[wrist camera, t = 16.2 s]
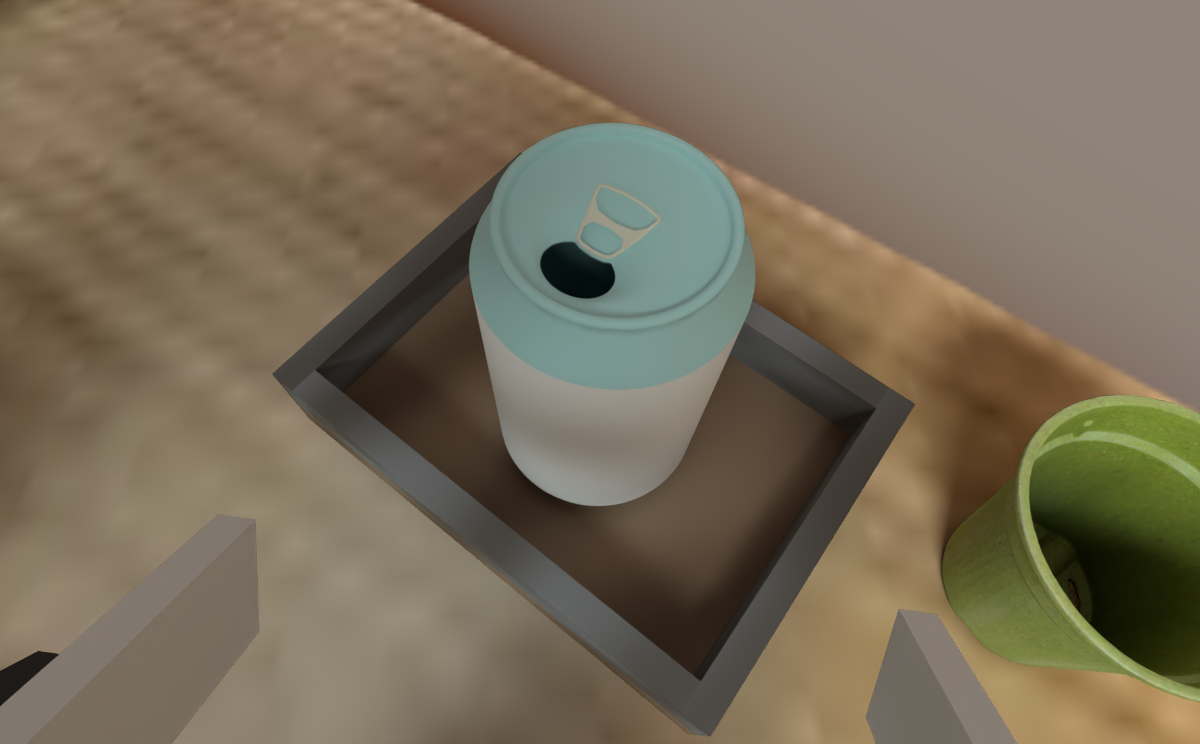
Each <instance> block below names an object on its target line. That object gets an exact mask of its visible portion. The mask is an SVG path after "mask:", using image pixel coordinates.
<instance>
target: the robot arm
mask: <svg viewBox="0 0 1200 744" xmlns="http://www.w3.org/2000/svg"><path fill="white" fill-rule="evenodd" d="M258 633H259V606H258V579H257V551H256V524H255V519H248V518H241V517H234V516H226V515H219V514H218V515H217V516H216V517H215V518H214V519H213V520H211V521H210V522H209V523H208V524H207V525H206V526H205V527H203V528H202V529H201V530H200V531H199V532H198V533H197V534H195V535H194V536H193V537H192V538H191V539H190V540H189V541H188V542H186V543H185V544H184V545H183V546H182V547H181V548H180V549H178V550H177V551H176V552H175V553H174V554H173V555H172V556H170V557H169V558H168V559H167V560H166V561H165V562H164V563H163V564H161V565H160V566H159V567H158V568H157V569H156V570H155V571H153V572H152V573H151V574H150V575H149V576H148V577H147V578H145V579H144V580H143V581H142V582H141V583H140V584H139V585H138V586H136V587H135V588H134V589H133V590H132V591H131V592H130V593H128V594H127V595H126V596H125V597H124V598H123V599H122V600H120V601H119V602H118V603H117V604H116V605H115V606H114V607H113V608H111V609H110V610H109V611H108V612H107V613H106V614H105V615H103V616H102V617H101V618H100V619H99V620H98V621H97V622H95V623H94V624H93V625H92V626H91V627H90V628H89V629H88V630H86V631H85V632H84V633H83V634H82V635H81V636H80V637H78V638H77V639H76V640H75V641H74V642H73V643H72V644H70V645H69V646H68V647H67V648H66V649H65V650H64V651H63V652H61V653H60V654H56V653H49V652H42V651H38V652H36V653H34V654H32V655H30V656H28V657H26V658H24V659H22V660H20V661H18V662H17V663H15V664H13V665H11V666H9V667H7V668H5V669H3V670H1V671H0V744H172V743H173V741H174V740H175V739H176V738H177V736H178V735H179V734H180V732H181V731H182V730H183V729H184V727H185V726H186V725H187V723H188V722H189V721H190V720H191V718H192V717H193V716H194V714H195V713H196V712H197V711H198V709H199V708H200V707H201V706H202V704H203V703H204V702H205V700H206V699H207V698H208V697H209V695H210V694H211V693H212V691H213V690H214V689H215V688H216V686H217V685H218V684H219V682H220V681H221V680H222V679H223V677H224V676H225V675H226V674H227V672H228V671H229V670H230V668H231V667H232V666H233V665H234V663H235V662H236V661H237V659H238V658H239V657H240V656H241V654H242V653H243V652H244V651H245V649H246V648H247V647H248V645H249V644H250V643H251V642H252V640H253V639H254V638H255V636H256V635H257V634H258ZM866 719H867V722H868V724H869V727H870V729H871V732H872V734H873V737H874V740H875V742H876V744H1017V742H1016V740H1015V739H1014V737H1013V735H1012V734H1011V732H1010V731H1009V729H1008V727H1007V726H1006V724H1005V723H1004V721H1003V719H1002V718H1001V716H1000V715H999V713H998V711H997V710H996V708H995V707H994V705H993V703H992V702H991V700H990V699H989V697H988V695H987V694H986V692H985V691H984V689H983V687H982V686H981V684H980V683H979V681H978V679H977V678H976V676H975V675H974V673H973V671H972V670H971V668H970V666H969V665H968V663H967V662H966V660H965V658H964V657H963V655H962V654H961V652H960V650H959V649H958V647H957V646H956V644H955V642H954V641H953V639H952V638H951V636H950V634H949V633H948V631H947V630H946V628H945V626H944V625H943V623H942V622H941V620H940V618H939V617H938V615H937V614H932V613H925V612H918V611H910V610H903V609H899V610H898V613H897V616H896V620H895V623H894V626H893V629H892V633H891V636H890V639H889V643H888V646H887V649H886V652H885V656H884V659H883V662H882V666H881V669H880V672H879V675H878V679H877V682H876V685H875V688H874V692H873V695H872V698H871V702H870V705H869V708H868V711H867V715H866Z"/></svg>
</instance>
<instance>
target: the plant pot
mask: <svg viewBox="0 0 1200 744" xmlns="http://www.w3.org/2000/svg"><path fill="white" fill-rule="evenodd" d="M942 572H943V581H944V586H945V590H946V593H947V597H948V600H949V602H950V604H951V606H952V608H953V610H954V612H955V613H956V615H957V616H958V617H959V618H960V619H961V620H962V621H963V622H964V623H965V624H966V625H967V627H968V628H969V629H970V630H971V631H972V632H973V633H974V635H975V636H976V637H977V638H978V639H979V640H980V642H981V643H982V644H983V645H984V646H985V647H986V648H988V649H989V650H990V651H992V652H994V653H995V654H997V655H999V656H1001V657H1003V658H1005V659H1008V660H1010V661H1013V662H1016V663H1019V664H1023V665H1029V666H1039V667H1050V668H1062V669H1074V670H1085V671H1096V672H1108V673H1118V674H1126V675H1128V676H1131V677H1134V678H1137V679H1138V680H1140V681H1142V682H1144V683H1146V684H1148V685H1150V686H1152V687H1155V688H1157V689H1159V690H1162V691H1164V692H1167V693H1169V694H1172V695H1175V696H1178V697H1181V698H1184V699H1188V700H1192V701H1196V702H1200V414H1199V413H1197V412H1194V411H1192V410H1190V409H1187V408H1185V407H1182V406H1179V405H1176V404H1174V403H1170V402H1166V401H1163V400H1157V399H1153V398H1148V397H1141V396H1132V395H1108V396H1101V397H1096V398H1091V399H1087V400H1083V401H1080V402H1077V403H1075V404H1072V405H1070V406H1068V407H1066V408H1064V409H1062V410H1061V411H1059V412H1057V413H1056V414H1054V415H1053V416H1052V417H1050V418H1049V419H1048V420H1046V421H1045V422H1044V423H1043V424H1042V425H1041V426H1040V427H1039V428H1038V429H1037V430H1036V431H1035V433H1034V434H1033V435H1032V436H1031V438H1030V439H1029V441H1028V443H1027V444H1026V446H1025V448H1024V450H1023V452H1022V454H1021V457H1020V459H1019V462H1018V465H1017V469H1016V473H1015V475H1014V477H1013V478H1012V479H1011V480H1010V481H1009V482H1007V483H1006V484H1005V485H1004V486H1003V487H1002V488H1001V489H1000V490H999V491H998V492H997V493H996V494H994V495H993V496H992V497H991V498H990V499H989V500H988V501H987V502H985V503H984V504H983V505H982V506H981V507H980V508H979V509H977V510H976V511H975V512H974V513H973V514H972V515H971V516H970V517H968V518H967V519H966V520H965V521H964V522H963V523H962V524H961V525H960V526H959V527H958V528H957V529H956V531H955V532H954V533H953V534H952V536H951V537H950V539H949V541H948V543H947V545H946V548H945V552H944V556H943V570H942ZM1070 578H1071V580H1072V581H1074V582H1075V583H1076V586H1077V590H1078V596H1079V599H1080V610H1079V612H1078V610H1077V609H1076V608H1075V607H1074V605H1073V604H1072V603H1071V595H1070V589H1069V584H1068V579H1070Z"/></svg>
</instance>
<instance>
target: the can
mask: <svg viewBox="0 0 1200 744" xmlns="http://www.w3.org/2000/svg"><path fill="white" fill-rule="evenodd" d="M469 274H470V282H471V288H472V293H473V298H474V302H475V307H476V312H477V316H478V321H479V326H480V331H481V335H482V340H483V345H484V350H485V354H486V359H487V364H488V368H489V373H490V378H491V383H492V387H493V392H494V397H495V401H496V406H497V411H498V416H499V420H500V425H501V430H502V435H503V438H504V441H505V445H506V447H507V449H508V452H509V454H510V455H511V457H512V459H513V461H514V462H515V464H516V465H517V467H518V468H519V469H520V470H521V472H522V473H523V474H524V475H525V476H526V477H527V478H528V479H529V480H530V481H531V482H533V483H534V484H535V485H536V486H538V487H539V488H540V489H542V490H544V491H545V492H547V493H549V494H551V495H553V496H555V497H557V498H559V499H562V500H565V501H568V502H572V503H575V504H581V505H588V506H608V505H616V504H620V503H625V502H628V501H631V500H634V499H636V498H639V497H641V496H643V495H645V494H647V493H649V492H650V491H652V490H653V489H655V488H656V487H658V486H659V485H660V484H661V483H663V482H664V481H665V480H666V479H667V478H668V477H669V476H670V475H671V474H672V473H673V471H674V470H675V469H676V467H677V466H678V465H679V463H680V461H681V460H682V458H683V456H684V454H685V452H686V449H687V447H688V445H689V443H690V441H691V438H692V436H693V434H694V432H695V430H696V427H697V425H698V423H699V421H700V418H701V416H702V414H703V412H704V410H705V407H706V405H707V403H708V401H709V399H710V396H711V394H712V392H713V390H714V387H715V385H716V383H717V381H718V379H719V376H720V374H721V372H722V370H723V367H724V365H725V363H726V361H727V359H728V356H729V354H730V352H731V350H732V348H733V345H734V343H735V341H736V339H737V336H738V334H739V332H740V330H741V328H742V325H743V323H744V321H745V319H746V316H747V314H748V312H749V309H750V306H751V303H752V299H753V294H754V289H755V261H754V254H753V249H752V245H751V242H750V238H749V236H748V233H747V231H746V228H745V221H744V214H743V210H742V206H741V203H740V200H739V198H738V195H737V193H736V191H735V189H734V187H733V186H732V184H731V182H730V181H729V179H728V178H727V176H726V175H725V174H724V173H723V171H722V170H721V169H720V168H719V167H718V166H717V165H716V164H715V163H714V162H713V161H712V160H711V159H710V158H709V157H708V156H706V155H705V154H704V153H703V152H701V151H700V150H698V149H697V148H696V147H694V146H692V145H691V144H689V143H687V142H686V141H684V140H682V139H680V138H678V137H676V136H673V135H671V134H668V133H666V132H663V131H660V130H657V129H653V128H650V127H645V126H641V125H634V124H626V123H596V124H588V125H582V126H578V127H573V128H570V129H566V130H563V131H560V132H558V133H555V134H552V135H550V136H548V137H546V138H544V139H542V140H540V141H539V142H537V143H535V144H534V145H532V146H531V147H529V148H528V149H527V150H525V151H524V152H523V153H522V154H521V155H520V156H518V157H517V158H516V159H515V160H514V161H513V163H512V164H511V165H510V166H509V167H508V168H507V170H506V171H505V173H504V174H503V176H502V177H501V179H500V181H499V182H498V184H497V187H496V189H495V191H494V194H493V198H492V201H491V202H490V203H489V205H488V206H487V208H486V209H485V211H484V213H483V215H482V216H481V218H480V221H479V223H478V225H477V227H476V231H475V234H474V237H473V241H472V244H471V250H470V258H469Z"/></svg>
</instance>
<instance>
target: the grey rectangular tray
mask: <svg viewBox="0 0 1200 744" xmlns="http://www.w3.org/2000/svg"><path fill="white" fill-rule="evenodd" d="M521 154H522V153H520V154H519V155H517V156H516V157H515V158H514V159H513V160H512V161H511V162H510V163H508V164H507V165H506V166H505V167H504V168H503V169H502V170H501V171H499V172H498V173H497V174H496V175H495V176H494V177H493V178H492V179H490V180H489V181H488V182H487V183H486V184H485V185H484V186H483V187H482V188H480V189H479V190H478V191H477V192H476V193H475V194H474V195H473V196H471V197H470V198H469V199H468V200H467V201H466V202H465V203H464V204H462V205H461V206H460V207H459V208H458V209H457V210H456V211H455V212H453V213H452V214H451V215H450V216H449V217H448V218H447V219H446V220H444V221H443V222H442V223H441V224H440V225H439V226H438V227H437V228H435V229H434V230H433V231H432V232H431V233H430V234H429V235H428V236H426V237H425V238H424V239H423V240H422V241H421V242H420V243H419V244H417V245H416V246H415V247H414V248H413V249H412V250H411V251H410V252H409V253H407V254H406V255H405V256H404V257H403V258H402V259H401V260H400V261H398V262H397V263H396V264H395V265H394V266H393V267H392V268H391V269H389V270H388V271H387V272H386V273H385V274H384V275H383V276H382V277H380V278H379V279H378V280H377V281H376V282H375V283H374V284H373V285H371V286H370V287H369V288H368V289H367V290H366V291H365V292H364V293H362V294H361V295H360V296H359V297H358V298H357V299H356V300H355V301H353V302H352V303H351V304H350V305H349V306H348V307H347V308H346V309H345V310H343V311H342V312H341V313H340V314H339V315H338V316H337V317H336V318H334V319H333V320H332V321H331V322H330V323H329V324H328V325H327V326H325V327H324V328H323V329H322V330H321V331H320V332H319V333H318V334H316V335H315V336H314V337H313V338H312V339H311V340H310V341H309V342H307V343H306V344H305V345H304V346H303V347H302V348H301V349H300V350H298V351H297V352H296V353H295V354H294V355H293V356H292V357H291V358H289V359H288V360H287V361H286V362H285V363H284V364H283V365H282V366H280V367H279V368H278V369H277V370H276V371H275V372H274V373H273V376H274V377H275V378H276V379H277V380H278V382H279V383H280V384H281V385H282V386H283V388H284V389H285V390H286V391H287V392H288V394H289V395H290V396H291V397H292V398H293V400H294V401H295V402H296V403H297V404H298V406H299V407H300V408H301V409H302V410H303V412H304V413H305V414H306V415H307V416H308V418H309V419H310V420H311V421H313V422H314V423H315V424H316V425H317V426H319V427H320V428H321V429H322V430H324V431H325V432H326V433H327V434H328V435H330V436H331V437H332V438H333V439H334V440H336V441H337V442H338V443H339V444H340V445H342V446H343V447H344V448H345V449H346V450H348V451H349V452H350V453H351V454H352V455H354V456H355V457H356V458H357V459H358V460H360V461H361V462H362V463H363V464H364V465H366V466H367V467H368V468H369V469H370V470H372V471H373V472H374V473H375V474H376V475H378V476H379V477H380V478H381V479H382V480H384V481H385V482H386V483H387V484H388V485H390V486H391V487H392V488H393V489H394V490H396V491H397V492H398V493H399V494H400V495H402V496H403V497H404V498H405V499H406V500H408V501H409V502H410V503H411V504H412V505H414V506H415V507H416V508H417V509H418V510H420V511H421V512H422V513H423V514H424V515H426V516H427V517H428V518H429V519H430V520H432V521H433V522H434V523H435V524H436V525H438V526H439V527H440V528H441V529H442V530H444V531H445V532H446V533H447V534H448V535H450V536H451V537H452V538H453V539H454V540H456V541H457V542H458V543H459V544H460V545H462V546H463V547H464V548H465V549H466V550H468V551H469V552H470V553H471V554H472V555H474V556H475V557H476V558H477V559H478V560H480V561H481V562H482V563H483V564H484V565H486V566H487V567H488V568H489V569H490V570H492V571H493V572H494V573H495V574H496V575H498V576H499V577H500V578H501V579H502V580H504V581H505V582H506V583H507V584H508V585H510V586H511V587H512V588H513V589H514V590H516V591H517V592H518V593H519V594H520V595H522V596H523V597H524V598H525V599H526V600H528V601H529V602H530V603H531V604H532V605H534V606H535V607H536V608H537V609H538V610H540V611H541V612H542V613H543V614H544V615H546V616H547V617H548V618H549V619H550V620H552V621H553V622H554V623H555V624H556V625H558V626H559V627H560V628H561V629H562V630H564V631H565V632H566V633H567V634H568V635H570V636H571V637H572V638H573V639H574V640H576V641H577V642H578V643H579V644H580V645H582V646H583V647H584V648H585V649H586V650H588V651H589V652H590V653H591V654H592V655H594V656H595V657H596V658H597V659H598V660H600V661H601V662H602V663H603V664H604V665H606V666H607V667H608V668H609V669H610V670H612V671H613V672H614V673H615V674H616V675H618V676H619V677H620V678H621V679H622V680H624V681H625V682H626V683H627V684H628V685H630V686H631V687H632V688H633V689H634V690H636V691H637V692H638V693H639V694H640V695H642V696H643V697H644V698H645V699H646V700H648V701H649V702H650V703H651V704H652V705H654V706H655V707H656V708H657V709H658V710H660V711H661V712H662V713H663V714H664V715H666V716H667V717H668V718H669V719H670V720H672V721H673V722H674V723H675V724H676V725H678V726H679V727H680V728H681V729H682V730H684V731H685V732H686V733H687V734H692V735H703V736H711V735H712V733H713V731H714V730H715V728H716V727H717V725H718V723H719V722H720V720H721V718H722V717H723V715H724V714H725V712H726V710H727V709H728V707H729V705H730V704H731V702H732V701H733V699H734V697H735V696H736V694H737V692H738V691H739V689H740V688H741V686H742V684H743V683H744V681H745V679H746V678H747V676H748V675H749V673H750V671H751V670H752V668H753V666H754V665H755V663H756V662H757V660H758V658H759V657H760V655H761V653H762V652H763V650H764V649H765V647H766V645H767V644H768V642H769V640H770V639H771V637H772V636H773V634H774V632H775V631H776V629H777V627H778V626H779V624H780V623H781V621H782V619H783V618H784V616H785V614H786V613H787V611H788V610H789V608H790V606H791V605H792V603H793V602H794V600H795V598H796V597H797V595H798V593H799V592H800V590H801V589H802V587H803V585H804V584H805V582H806V580H807V579H808V577H809V576H810V574H811V572H812V571H813V569H814V567H815V566H816V564H817V563H818V561H819V559H820V558H821V556H822V554H823V553H824V551H825V550H826V548H827V546H828V545H829V543H830V541H831V540H832V538H833V537H834V535H835V533H836V532H837V530H838V528H839V527H840V525H841V524H842V522H843V520H844V519H845V517H846V515H847V514H848V512H849V511H850V509H851V507H852V506H853V504H854V502H855V501H856V499H857V498H858V496H859V494H860V493H861V491H862V489H863V488H864V486H865V485H866V483H867V481H868V480H869V478H870V476H871V475H872V473H873V472H874V470H875V468H876V467H877V465H878V463H879V462H880V460H881V459H882V457H883V455H884V454H885V452H886V450H887V449H888V447H889V446H890V444H891V442H892V441H893V439H894V438H895V436H896V434H897V433H898V431H899V429H900V428H901V426H902V425H903V423H904V421H905V420H906V418H907V416H908V415H909V413H910V412H911V410H912V408H913V407H914V405H915V404H914V403H913V402H911V401H910V400H908V399H906V398H905V397H903V396H902V395H900V394H899V393H897V392H895V391H894V390H892V389H891V388H889V387H888V386H886V385H884V384H883V383H881V382H880V381H878V380H877V379H875V378H873V377H872V376H870V375H869V374H867V373H866V372H864V371H862V370H861V369H859V368H858V367H856V366H855V365H853V364H852V363H850V362H848V361H847V360H845V359H844V358H842V357H841V356H839V355H837V354H836V353H834V352H833V351H831V350H830V349H828V348H826V347H825V346H823V345H822V344H820V343H819V342H817V341H815V340H814V339H812V338H811V337H809V336H808V335H806V334H804V333H803V332H801V331H800V330H798V329H797V328H795V327H794V326H792V325H790V324H789V323H787V322H786V321H784V320H783V319H781V318H779V317H778V316H776V315H775V314H773V313H772V312H770V311H768V310H767V309H765V308H764V307H762V306H761V305H759V304H757V303H756V302H754V301H753V300H752V303H751V306H750V309H749V312H748V314H747V316H746V319H745V321H744V323H743V325H742V328H741V330H740V332H739V334H738V336H737V339H736V341H735V343H734V345H733V348H732V350H731V352H730V354H729V356H728V359H727V361H726V363H725V365H724V367H723V370H722V372H721V374H720V376H719V379H718V381H717V383H716V385H715V387H714V390H713V392H712V394H711V396H710V399H709V401H708V403H707V405H706V407H705V410H704V412H703V414H702V416H701V418H700V421H699V423H698V425H697V427H696V430H695V432H694V434H693V436H692V438H691V441H690V443H689V445H688V447H687V449H686V452H685V454H684V456H683V458H682V460H681V461H680V463H679V465H678V466H677V467H676V469H675V470H674V471H673V473H672V474H671V475H670V476H669V477H668V478H667V479H666V480H665V481H664V482H663V483H661V484H660V485H659V486H658V487H656V488H655V489H653V490H652V491H650V492H649V493H647V494H645V495H643V496H641V497H639V498H636V499H634V500H631V501H628V502H625V503H620V504H616V505H608V506H588V505H581V504H575V503H572V502H568V501H565V500H562V499H559V498H557V497H555V496H553V495H551V494H549V493H547V492H545V491H544V490H542V489H540V488H539V487H538V486H536V485H535V484H534V483H533V482H531V481H530V480H529V479H528V478H527V477H526V476H525V475H524V474H523V473H522V472H521V470H520V469H519V468H518V467H517V465H516V464H515V462H514V461H513V459H512V457H511V455H510V454H509V452H508V449H507V447H506V445H505V441H504V438H503V435H502V430H501V425H500V420H499V416H498V411H497V406H496V401H495V397H494V392H493V387H492V383H491V378H490V373H489V368H488V364H487V359H486V354H485V350H484V345H483V340H482V335H481V331H480V326H479V321H478V316H477V312H476V307H475V302H474V298H473V293H472V288H471V282H470V274H469V258H470V250H471V244H472V241H473V237H474V234H475V231H476V227H477V225H478V223H479V221H480V218H481V216H482V215H483V213H484V211H485V209H486V208H487V206H488V205H489V203H490V202H491V201H492V198H493V194H494V191H495V189H496V187H497V184H498V182H499V181H500V179H501V177H502V176H503V174H504V173H505V171H506V170H507V168H508V167H509V166H510V165H511V164H512V163H513V161H514V160H515V159H516V158H517V157H518V156H520V155H521Z"/></svg>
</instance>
